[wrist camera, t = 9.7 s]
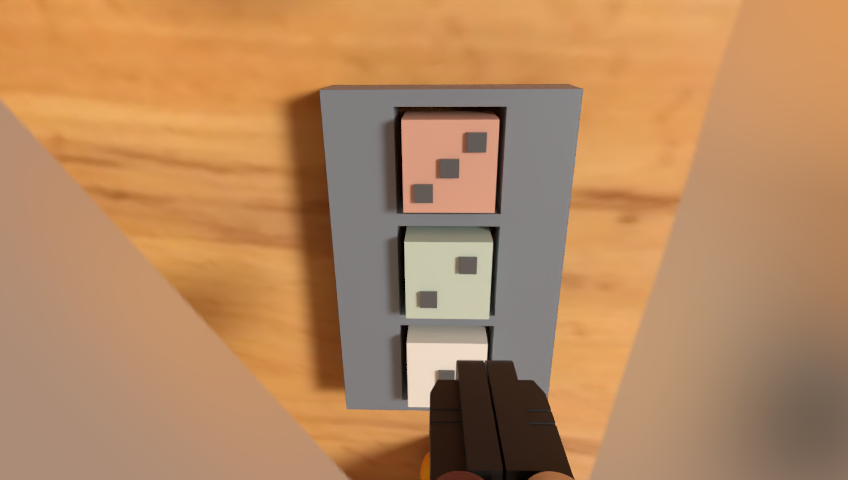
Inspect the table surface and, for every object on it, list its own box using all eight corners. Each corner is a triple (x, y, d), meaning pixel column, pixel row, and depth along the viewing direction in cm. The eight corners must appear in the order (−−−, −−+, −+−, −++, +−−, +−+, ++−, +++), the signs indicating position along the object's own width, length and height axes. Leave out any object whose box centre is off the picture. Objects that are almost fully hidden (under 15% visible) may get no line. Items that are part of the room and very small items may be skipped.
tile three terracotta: (407, 194, 24) (403, 214, 21) (405, 110, 22) (400, 120, 19) (488, 194, 23) (495, 214, 21) (492, 110, 22) (500, 120, 19)
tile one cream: (411, 373, 28) (407, 409, 25) (409, 313, 26) (406, 345, 23) (480, 374, 28) (484, 411, 25) (483, 314, 26) (488, 346, 23)
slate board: (354, 379, 29) (346, 409, 26) (332, 85, 22) (319, 90, 20) (537, 382, 28) (545, 412, 26) (568, 84, 22) (583, 88, 20)
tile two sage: (409, 290, 26) (405, 320, 23) (407, 220, 24) (403, 243, 21) (484, 291, 25) (489, 321, 23) (487, 221, 24) (493, 244, 21)
